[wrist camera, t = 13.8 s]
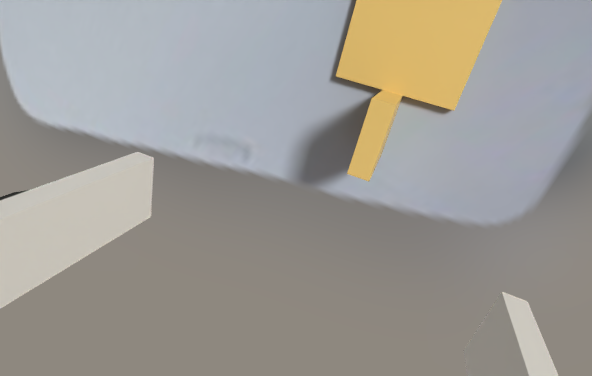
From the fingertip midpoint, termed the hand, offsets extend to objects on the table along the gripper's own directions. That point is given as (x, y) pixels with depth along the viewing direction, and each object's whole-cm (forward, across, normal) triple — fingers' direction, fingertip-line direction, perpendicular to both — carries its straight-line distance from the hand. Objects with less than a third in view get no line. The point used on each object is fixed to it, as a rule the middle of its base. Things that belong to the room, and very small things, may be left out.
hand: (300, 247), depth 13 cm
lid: (+23, +1, +9) cm, 25 cm away
